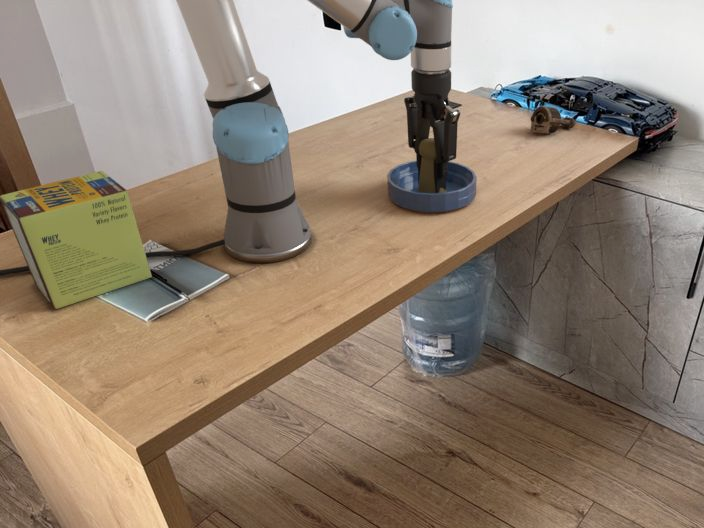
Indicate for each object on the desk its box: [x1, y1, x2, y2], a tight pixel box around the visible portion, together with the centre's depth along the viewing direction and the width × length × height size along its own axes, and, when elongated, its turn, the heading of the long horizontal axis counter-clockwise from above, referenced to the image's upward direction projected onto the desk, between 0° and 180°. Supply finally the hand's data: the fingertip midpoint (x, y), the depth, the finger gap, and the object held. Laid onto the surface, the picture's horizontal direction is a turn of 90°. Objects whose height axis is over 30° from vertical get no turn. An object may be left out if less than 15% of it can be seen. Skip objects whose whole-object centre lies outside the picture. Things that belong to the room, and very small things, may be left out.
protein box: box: [0, 170, 153, 310], centre depth 106 cm, size 10×15×16 cm
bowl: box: [386, 160, 478, 214], centre depth 140 cm, size 18×18×4 cm
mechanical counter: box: [529, 105, 577, 135], centre depth 173 cm, size 7×13×10 cm
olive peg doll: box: [418, 137, 447, 193], centre depth 137 cm, size 6×6×11 cm
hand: (432, 187), depth 140 cm, fingers closed on olive peg doll, 4 cm apart
